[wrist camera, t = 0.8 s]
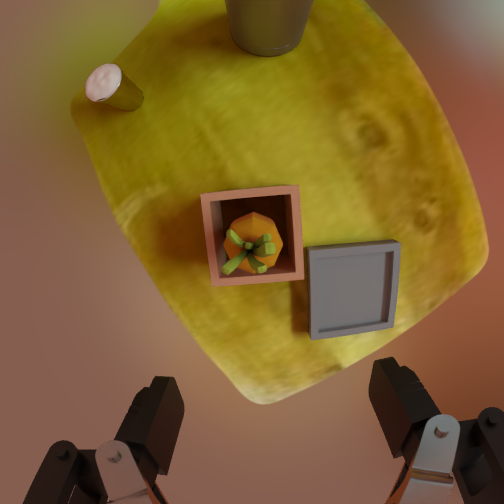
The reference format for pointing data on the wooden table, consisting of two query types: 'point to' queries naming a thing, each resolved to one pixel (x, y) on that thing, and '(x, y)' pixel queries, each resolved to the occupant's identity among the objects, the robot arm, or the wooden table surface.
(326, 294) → the tray
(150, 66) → the wooden table surface
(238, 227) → the carrot
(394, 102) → the wooden table surface
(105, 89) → the milkshake
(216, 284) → the box
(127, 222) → the wooden table surface
